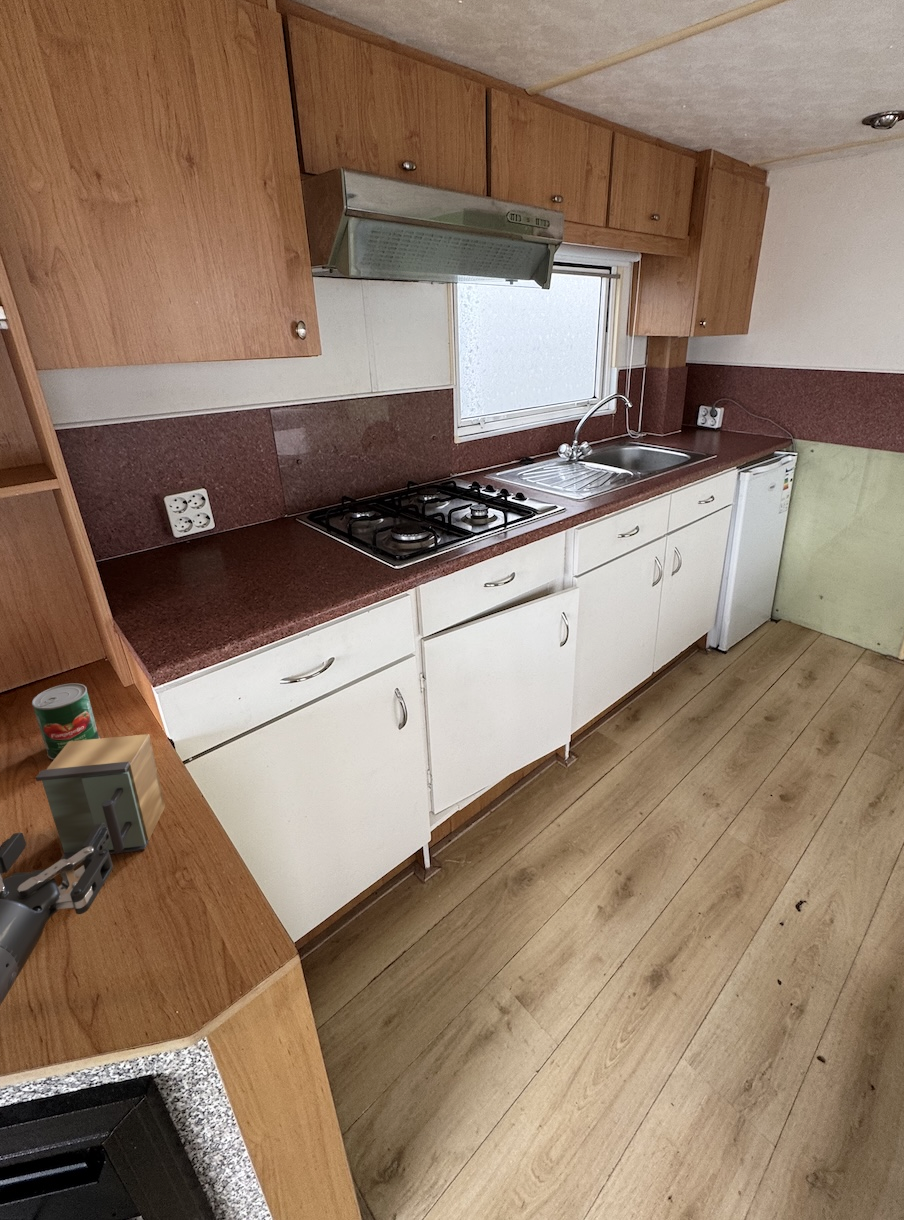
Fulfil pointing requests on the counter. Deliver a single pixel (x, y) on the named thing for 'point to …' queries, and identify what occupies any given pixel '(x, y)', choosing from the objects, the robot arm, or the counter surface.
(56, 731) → the canned tomato
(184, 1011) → the counter surface
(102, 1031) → the counter surface
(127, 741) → the cabinet
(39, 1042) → the counter surface
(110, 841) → the slide door
